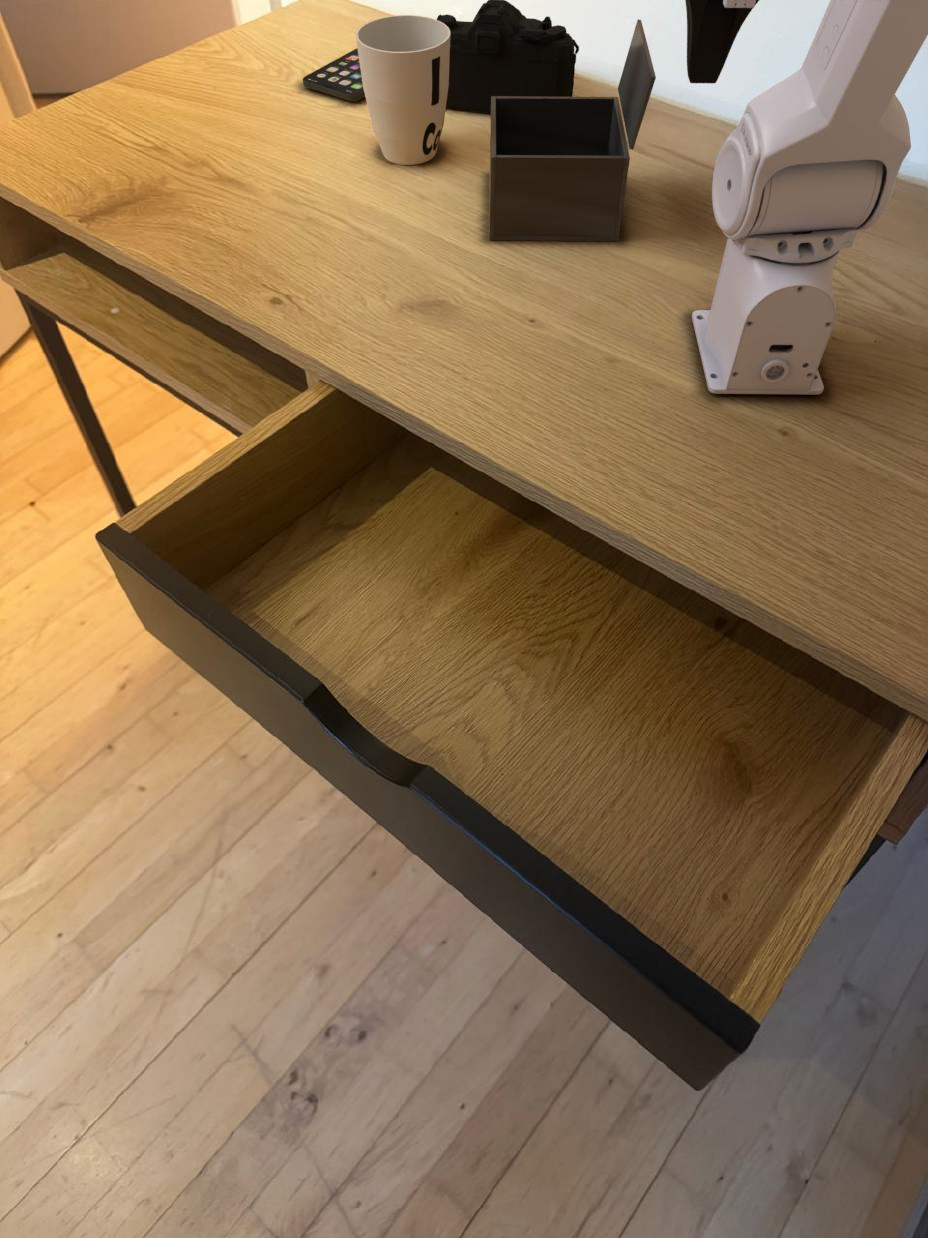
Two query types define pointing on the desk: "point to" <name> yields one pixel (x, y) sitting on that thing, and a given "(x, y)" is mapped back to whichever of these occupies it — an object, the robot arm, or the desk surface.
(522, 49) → the film camera
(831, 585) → the desk surface
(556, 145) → the carton
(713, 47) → the robot arm
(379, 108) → the cup
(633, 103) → the flap
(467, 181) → the desk surface
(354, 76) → the smartphone
